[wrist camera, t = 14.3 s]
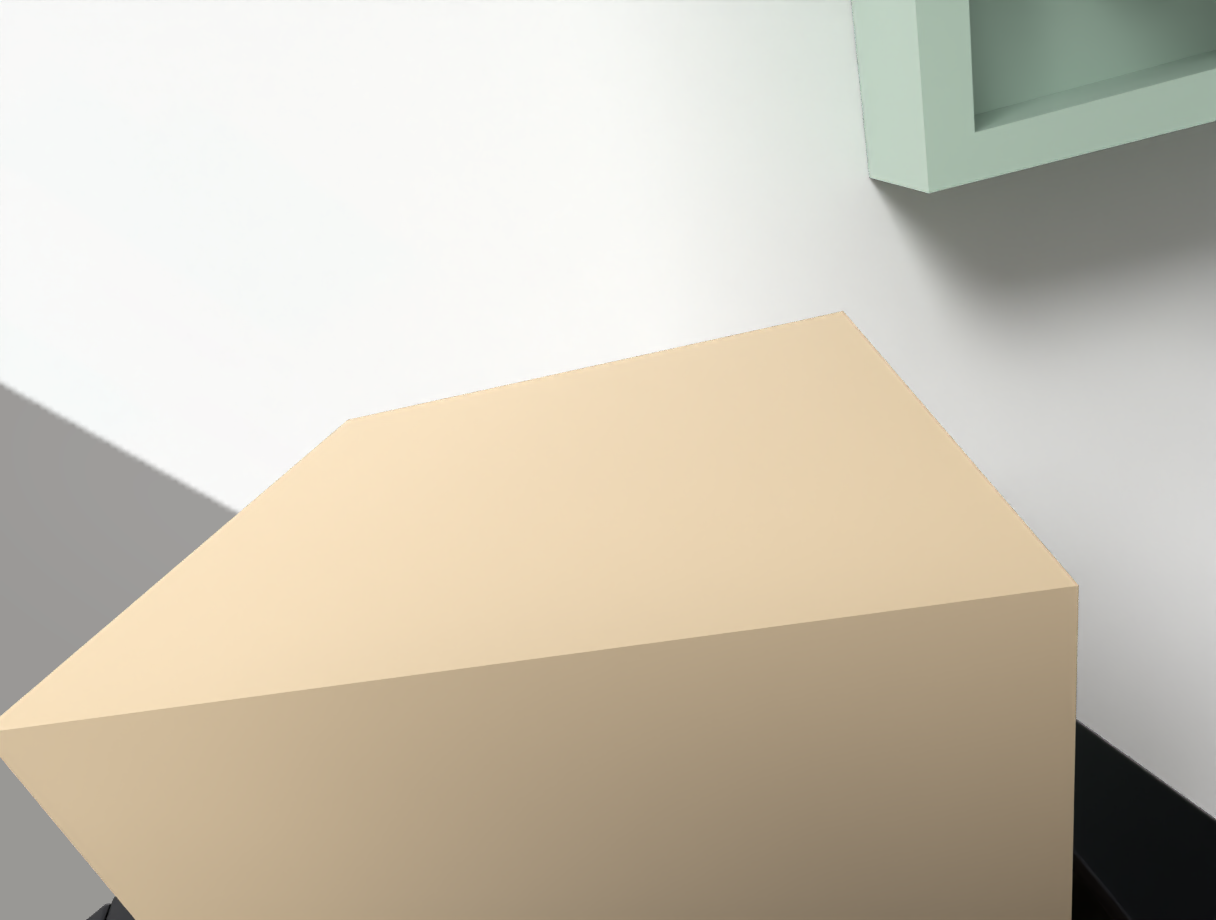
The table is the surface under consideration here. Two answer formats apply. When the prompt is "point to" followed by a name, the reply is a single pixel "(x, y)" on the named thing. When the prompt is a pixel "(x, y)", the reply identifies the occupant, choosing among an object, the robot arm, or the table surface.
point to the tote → (1024, 81)
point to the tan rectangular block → (592, 667)
